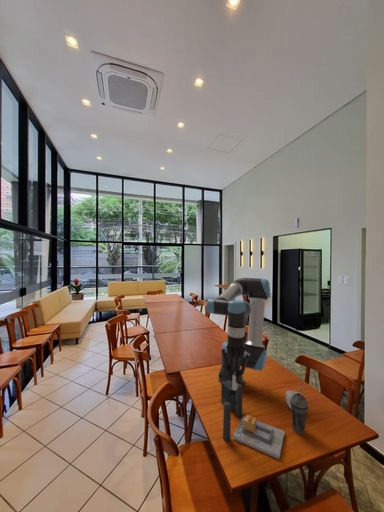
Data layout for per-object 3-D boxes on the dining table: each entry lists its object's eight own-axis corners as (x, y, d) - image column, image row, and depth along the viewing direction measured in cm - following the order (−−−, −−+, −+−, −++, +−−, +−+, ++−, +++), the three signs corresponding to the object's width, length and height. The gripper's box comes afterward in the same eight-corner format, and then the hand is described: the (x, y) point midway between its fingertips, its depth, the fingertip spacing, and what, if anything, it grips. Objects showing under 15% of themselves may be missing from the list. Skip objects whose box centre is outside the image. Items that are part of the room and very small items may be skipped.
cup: (291, 414, 108) (291, 400, 108) (280, 401, 118) (280, 388, 118) (305, 412, 109) (306, 399, 109) (293, 400, 119) (293, 387, 119)
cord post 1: (221, 439, 92) (222, 404, 92) (224, 434, 94) (225, 401, 95) (228, 442, 90) (229, 407, 91) (231, 437, 93) (232, 403, 93)
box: (238, 408, 111) (239, 387, 112) (229, 411, 109) (230, 389, 109) (229, 399, 118) (230, 379, 119) (220, 402, 116) (221, 381, 116)
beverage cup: (286, 424, 101) (287, 380, 101) (301, 423, 102) (302, 379, 102) (295, 437, 94) (295, 389, 94) (311, 436, 94) (312, 389, 95)
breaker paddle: (243, 429, 95) (244, 418, 95) (246, 423, 98) (246, 413, 98) (253, 433, 93) (253, 422, 93) (255, 427, 96) (255, 416, 96)
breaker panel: (233, 439, 92) (233, 431, 92) (243, 418, 104) (243, 412, 104) (279, 459, 83) (279, 451, 83) (284, 434, 95) (284, 427, 95)
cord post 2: (234, 416, 106) (235, 386, 106) (236, 412, 108) (237, 383, 108) (240, 418, 104) (241, 388, 104) (242, 414, 107) (243, 385, 107)
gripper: (219, 335, 100) (218, 388, 99) (248, 340, 93) (246, 397, 93) (225, 330, 106) (224, 380, 106) (252, 336, 100) (251, 389, 99)
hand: (234, 388), depth 99 cm, fingers closed
